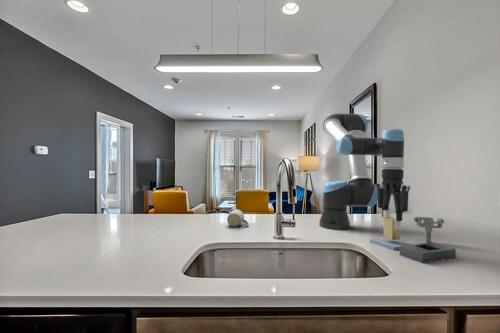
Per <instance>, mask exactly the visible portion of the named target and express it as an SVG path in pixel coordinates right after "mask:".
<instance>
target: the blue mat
mask: <svg viewBox="0 0 500 333" xmlns="http://www.w3.org/2000/svg"><path fill="white" fill-rule="evenodd" d="M369 243H373V244H375V245H378V246H381V247H384V248H387V249H389V250H391V251H392V250H393V251H397V249H398V250H400V246H405V245H413V244H414V243H410V242H408V241H404V240H401V239H399V240H390V239H387V238H384V237H380V238H379V237H378V238H371V239H369Z"/></svg>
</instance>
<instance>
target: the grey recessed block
mask: <svg viewBox="0 0 500 333" xmlns="http://www.w3.org/2000/svg"><path fill="white" fill-rule="evenodd" d="M412 244H413V245H405V246H400V249H399V255H400V256H402V257H405V258H407V259H411V260H413V261H415V260H416V262H418V261H419V263H421V264H425V263H424V262H426V263H431V262H430V261H432V262H436V261H437V260H439V261H443V260H442V259H445V260H449V258H451V259H456V258H457V255H456V254H457V249H456V248H454V247H451V246H446V245H444V244H438V243H436V242H433V241H431V242H430V243H428V242H424V243H415V244H414V243H412Z"/></svg>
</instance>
